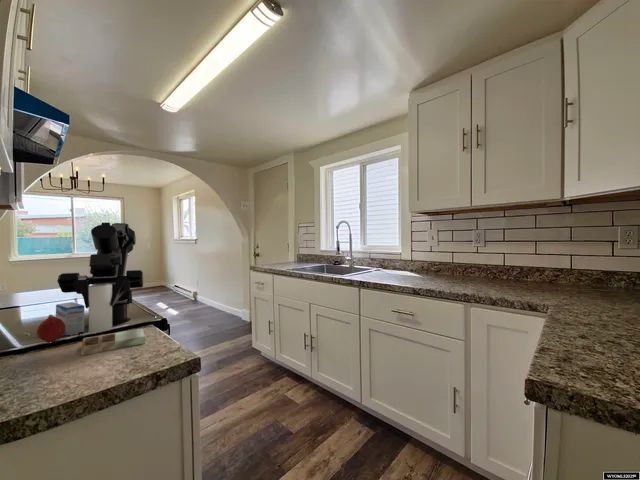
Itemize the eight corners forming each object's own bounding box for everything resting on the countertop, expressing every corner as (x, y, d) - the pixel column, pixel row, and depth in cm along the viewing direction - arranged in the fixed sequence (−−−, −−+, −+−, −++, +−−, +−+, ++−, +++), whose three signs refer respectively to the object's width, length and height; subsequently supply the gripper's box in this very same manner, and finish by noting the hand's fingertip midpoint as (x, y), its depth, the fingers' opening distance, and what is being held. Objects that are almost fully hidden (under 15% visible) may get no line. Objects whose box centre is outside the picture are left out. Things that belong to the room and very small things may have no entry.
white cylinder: (97, 326, 77) (97, 283, 76) (116, 325, 77) (116, 283, 77) (83, 332, 72) (83, 287, 71) (104, 332, 72) (104, 287, 72)
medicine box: (55, 332, 85) (55, 304, 85) (73, 327, 89) (73, 301, 89) (66, 336, 82) (66, 307, 81) (84, 332, 86) (84, 304, 85)
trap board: (81, 355, 69) (81, 347, 69) (83, 345, 75) (83, 338, 75) (145, 343, 77) (145, 336, 77) (142, 334, 84) (142, 328, 84)
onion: (69, 337, 81) (69, 311, 80) (59, 345, 75) (59, 316, 75) (44, 340, 79) (44, 312, 78) (31, 348, 73) (31, 318, 73)
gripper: (59, 243, 73) (43, 292, 63) (142, 243, 82) (139, 286, 73) (69, 269, 80) (55, 316, 71) (144, 266, 89) (141, 308, 80)
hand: (99, 306), depth 73 cm, fingers closed on white cylinder, 5 cm apart
